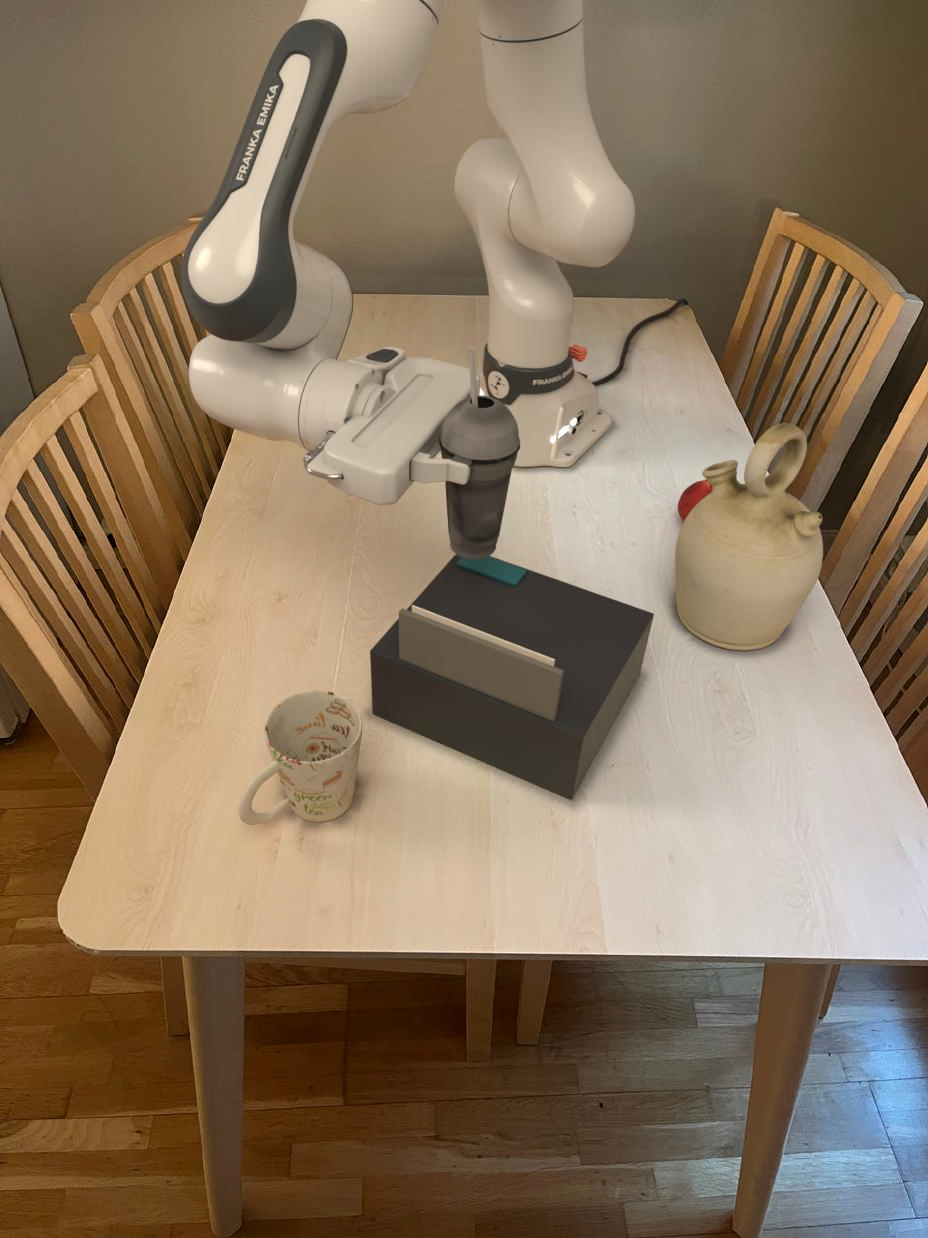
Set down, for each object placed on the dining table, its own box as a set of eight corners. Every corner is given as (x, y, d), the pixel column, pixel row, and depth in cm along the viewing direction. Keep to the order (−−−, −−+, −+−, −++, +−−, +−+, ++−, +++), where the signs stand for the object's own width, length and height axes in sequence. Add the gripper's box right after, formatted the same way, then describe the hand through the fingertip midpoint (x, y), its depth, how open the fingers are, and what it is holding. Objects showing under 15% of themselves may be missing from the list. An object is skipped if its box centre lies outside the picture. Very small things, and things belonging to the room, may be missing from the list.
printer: (461, 606, 107) (466, 493, 97) (640, 673, 100) (667, 560, 90) (372, 714, 94) (367, 598, 84) (571, 800, 87) (593, 685, 77)
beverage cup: (503, 574, 87) (522, 378, 73) (427, 561, 87) (432, 365, 74) (516, 529, 92) (535, 339, 79) (444, 518, 93) (451, 328, 79)
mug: (384, 794, 87) (382, 723, 80) (280, 880, 80) (267, 810, 73) (324, 747, 91) (317, 675, 84) (220, 825, 83) (203, 753, 77)
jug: (638, 589, 111) (678, 401, 94) (747, 564, 115) (805, 380, 98) (706, 676, 100) (765, 481, 83) (824, 645, 105) (902, 454, 88)
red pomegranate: (669, 536, 119) (682, 484, 113) (676, 512, 123) (688, 460, 118) (715, 547, 118) (729, 494, 112) (720, 522, 122) (735, 470, 116)
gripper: (289, 435, 76) (442, 477, 73) (398, 338, 91) (530, 369, 87) (295, 498, 81) (440, 541, 77) (398, 396, 95) (524, 428, 91)
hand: (488, 448), depth 82 cm, fingers closed on beverage cup, 7 cm apart
